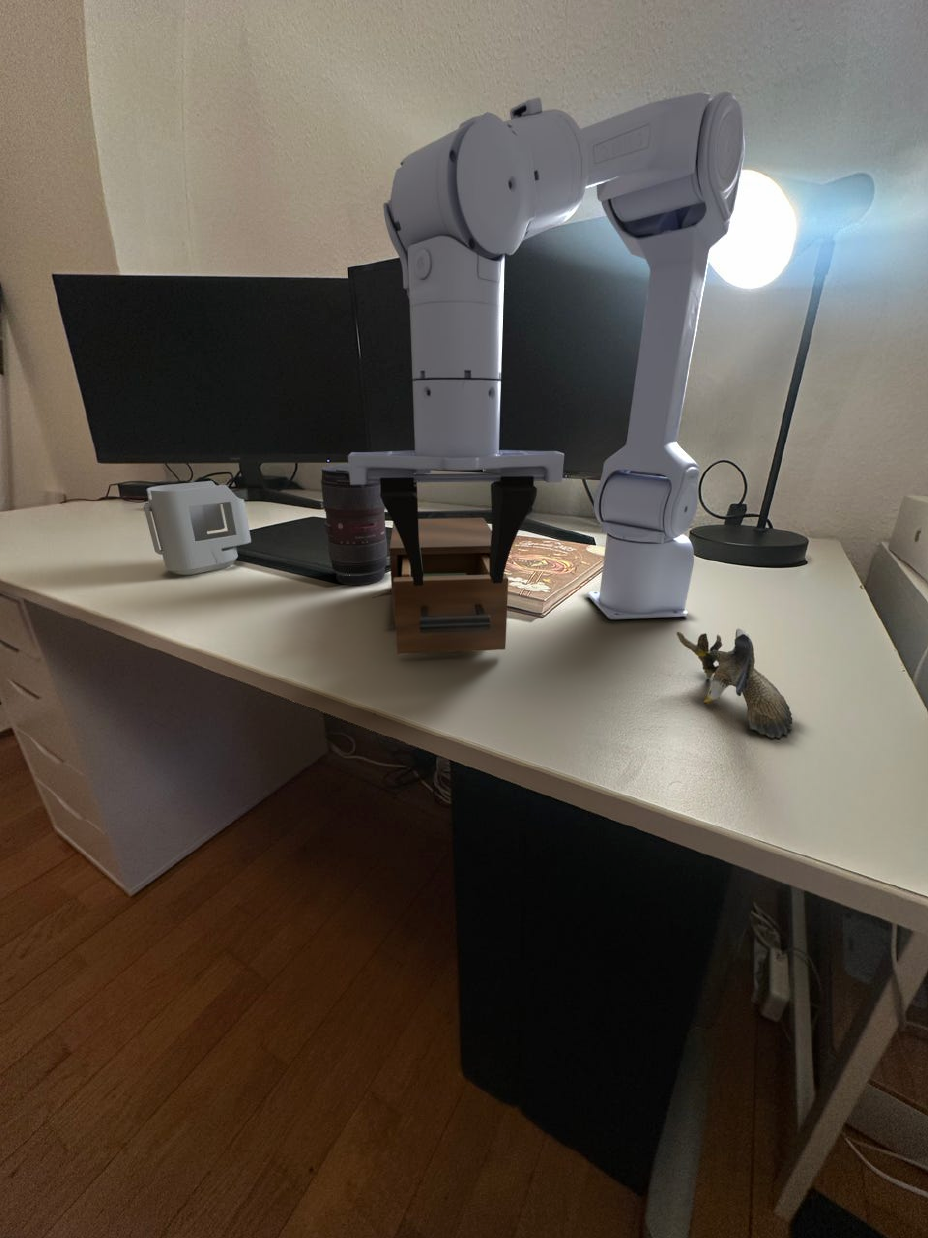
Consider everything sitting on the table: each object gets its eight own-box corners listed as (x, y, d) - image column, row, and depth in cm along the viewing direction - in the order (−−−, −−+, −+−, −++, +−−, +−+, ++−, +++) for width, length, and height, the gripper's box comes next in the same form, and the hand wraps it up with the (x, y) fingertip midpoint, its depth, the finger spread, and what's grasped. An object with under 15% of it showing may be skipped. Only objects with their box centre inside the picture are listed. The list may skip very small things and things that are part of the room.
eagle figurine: (650, 671, 43) (722, 712, 35) (695, 601, 42) (780, 625, 34) (711, 706, 45) (793, 754, 37) (754, 640, 45) (848, 673, 36)
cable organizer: (257, 563, 75) (243, 483, 71) (168, 582, 67) (145, 493, 63) (240, 554, 80) (225, 478, 75) (154, 571, 72) (132, 487, 67)
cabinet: (498, 624, 55) (501, 545, 51) (394, 628, 54) (389, 548, 50) (482, 583, 67) (483, 517, 64) (397, 586, 66) (393, 519, 63)
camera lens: (371, 590, 65) (362, 473, 59) (319, 583, 67) (305, 469, 61) (400, 572, 72) (394, 465, 66) (352, 566, 74) (342, 462, 68)
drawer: (514, 672, 44) (517, 595, 41) (395, 677, 43) (391, 599, 40) (487, 601, 59) (488, 542, 56) (400, 604, 58) (396, 544, 55)
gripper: (333, 377, 27) (354, 603, 33) (585, 379, 29) (565, 595, 34) (348, 382, 34) (364, 570, 39) (553, 383, 35) (541, 565, 41)
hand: (457, 580), depth 37 cm, fingers open, 5 cm apart
